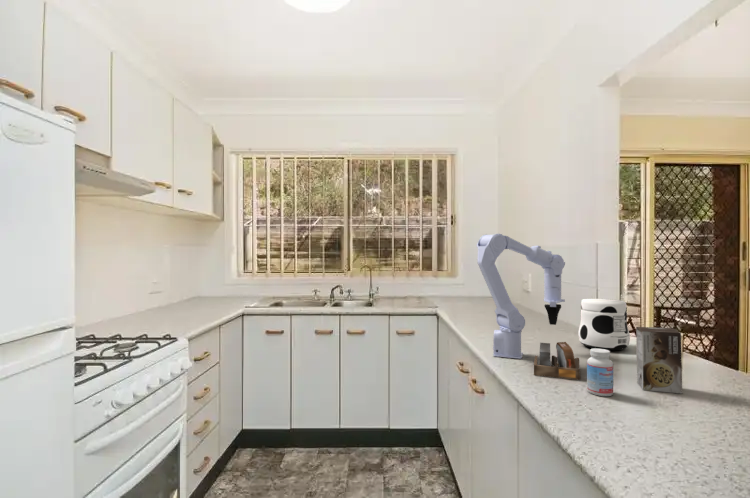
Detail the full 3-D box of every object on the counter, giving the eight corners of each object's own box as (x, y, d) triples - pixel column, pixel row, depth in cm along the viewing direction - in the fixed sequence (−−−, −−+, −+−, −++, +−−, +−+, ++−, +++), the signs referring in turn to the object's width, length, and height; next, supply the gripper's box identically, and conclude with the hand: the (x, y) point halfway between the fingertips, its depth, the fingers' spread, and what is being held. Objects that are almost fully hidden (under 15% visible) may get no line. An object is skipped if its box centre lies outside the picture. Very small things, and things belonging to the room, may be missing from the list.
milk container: (582, 340, 171) (582, 297, 171) (631, 346, 160) (631, 300, 160) (574, 349, 156) (574, 301, 157) (627, 355, 146) (627, 305, 146)
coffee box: (673, 386, 114) (673, 327, 114) (682, 394, 107) (682, 332, 108) (635, 383, 117) (635, 326, 117) (642, 390, 110) (642, 330, 110)
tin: (576, 379, 120) (576, 350, 120) (564, 378, 121) (564, 349, 121) (565, 365, 135) (565, 339, 135) (555, 364, 136) (554, 338, 136)
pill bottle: (603, 398, 105) (603, 354, 105) (582, 391, 110) (581, 349, 110) (618, 394, 107) (618, 351, 107) (596, 387, 113) (596, 346, 113)
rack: (533, 375, 124) (533, 352, 124) (535, 362, 138) (535, 341, 138) (582, 380, 119) (582, 356, 119) (579, 366, 133) (578, 344, 133)
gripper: (565, 289, 142) (565, 328, 142) (564, 285, 156) (564, 321, 156) (543, 288, 145) (543, 327, 145) (543, 285, 159) (544, 320, 159)
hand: (552, 324), depth 151 cm, fingers closed
